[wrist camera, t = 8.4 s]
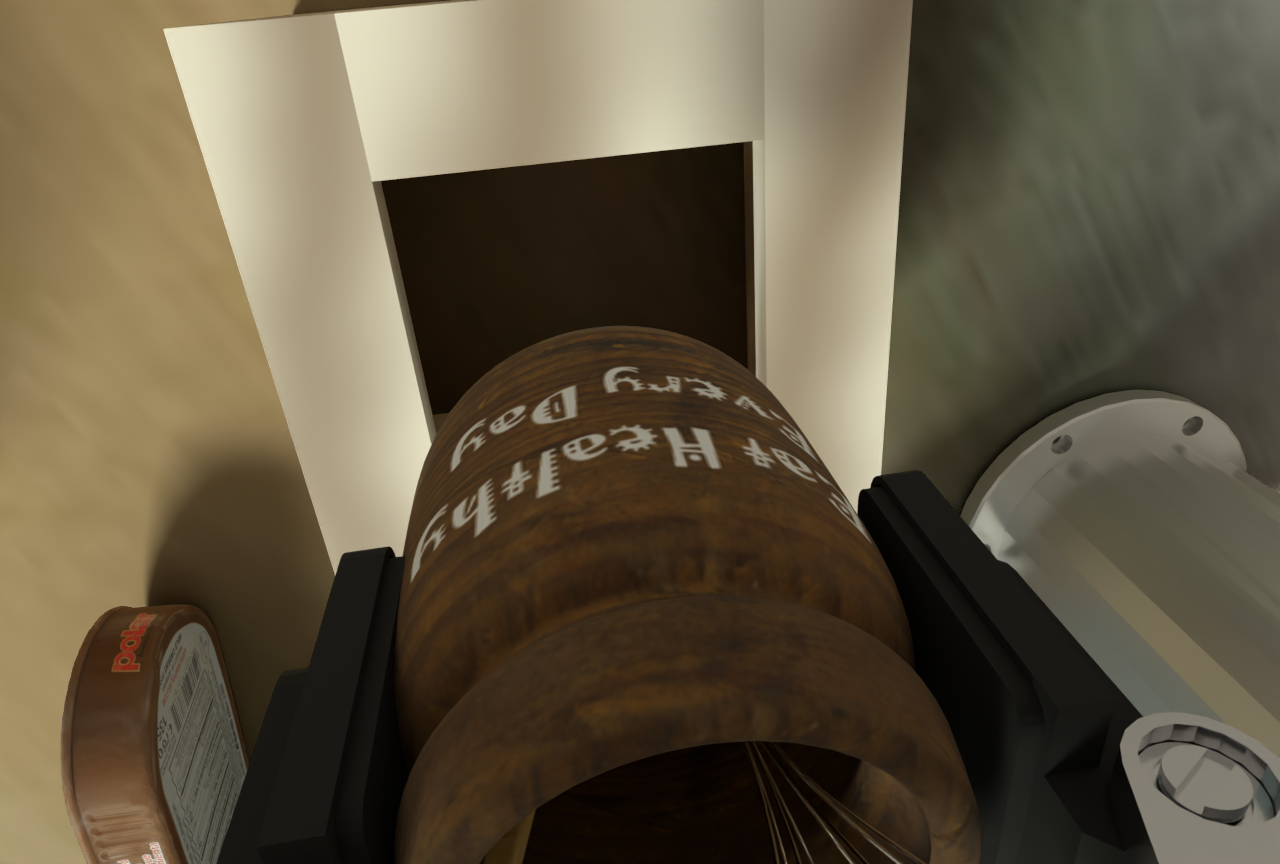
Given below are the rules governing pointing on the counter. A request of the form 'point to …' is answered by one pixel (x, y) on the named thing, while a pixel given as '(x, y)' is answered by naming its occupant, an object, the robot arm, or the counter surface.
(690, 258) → the counter surface
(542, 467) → the utensil holder
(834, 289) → the posting box
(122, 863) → the tin
